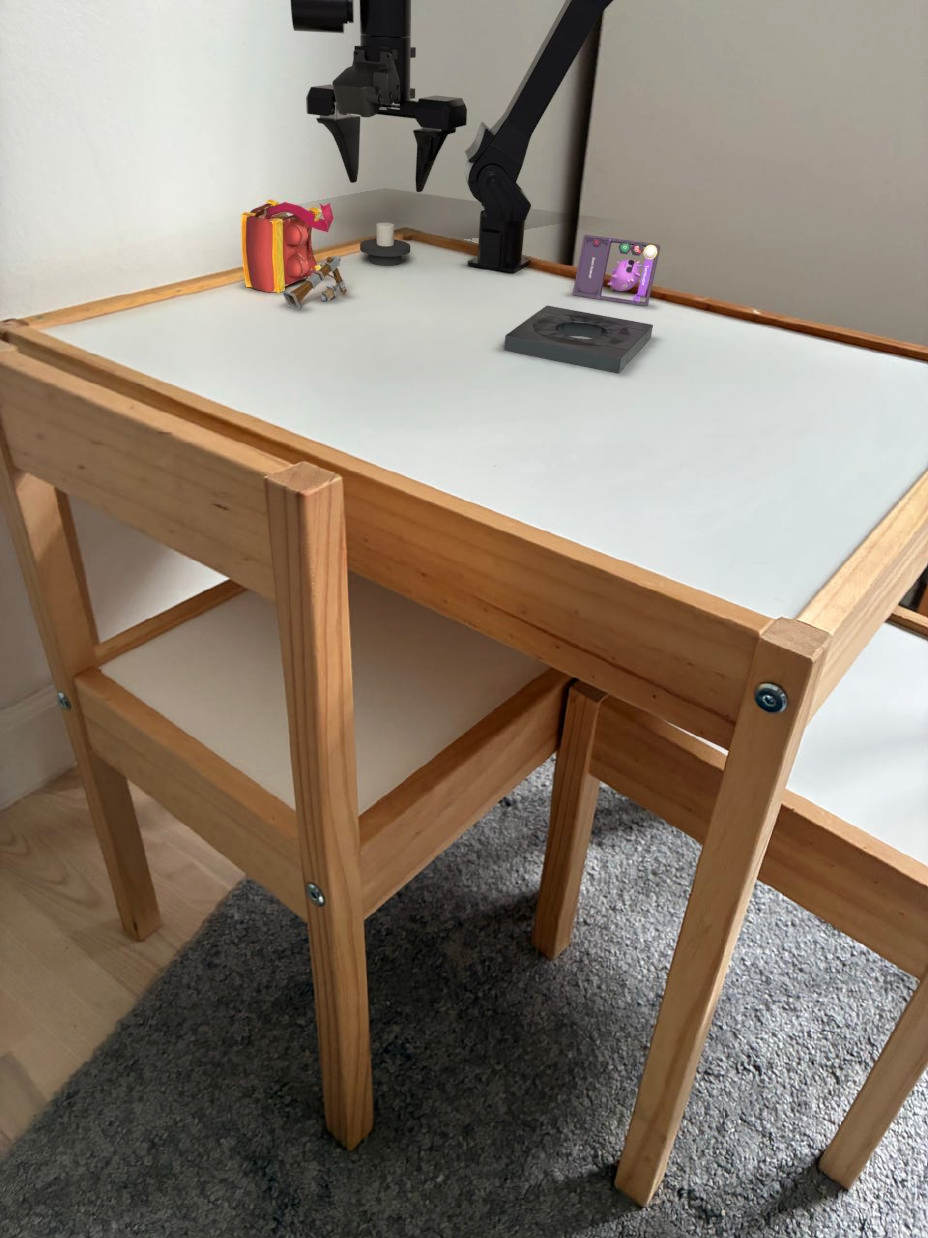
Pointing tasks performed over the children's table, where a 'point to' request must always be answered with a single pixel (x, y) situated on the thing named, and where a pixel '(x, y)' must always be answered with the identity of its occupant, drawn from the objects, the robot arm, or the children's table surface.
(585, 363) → the sink plate
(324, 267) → the toy blunderbuss
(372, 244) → the stopper
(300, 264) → the book monster
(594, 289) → the game card
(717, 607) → the children's table surface
